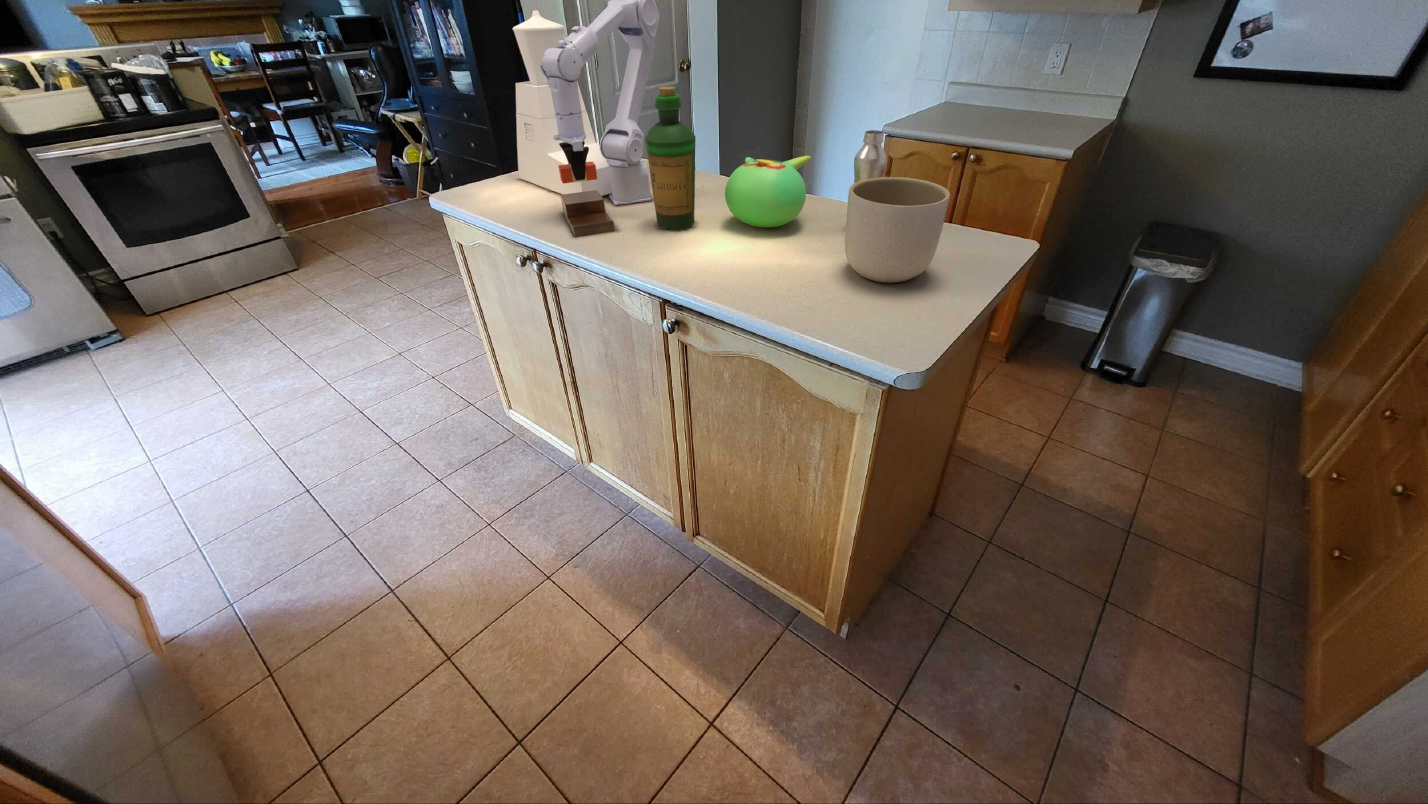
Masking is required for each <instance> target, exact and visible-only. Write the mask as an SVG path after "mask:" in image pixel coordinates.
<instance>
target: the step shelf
mask: <svg viewBox="0 0 1428 804" xmlns="http://www.w3.org/2000/svg"><path fill="white" fill-rule="evenodd" d="M559 197H560V201H561V206H562V212H563V215H564V217H565V219H566V221H567V223H568V225H569V228H570V229H571V231H572V234H573V235H574V237H582V236H588V235H595V234H601V233H609V232H615V224H614V223H615V222H614V220H611V218H610V217H609V215H608V214H607V212H606V206H605V199H604V198H603V196H601V195H600V193H599V192H598V191H597V190H594V191H586V192H578V193H570V194H560V196H559Z"/></svg>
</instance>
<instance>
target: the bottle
mask: <svg viewBox="0 0 1428 804" xmlns="http://www.w3.org/2000/svg"><path fill="white" fill-rule="evenodd" d="M658 90H659V93H658V94H656V95H655V101H654V102H655V103H654V109H655V110H657V113H658V120H659V121H658V122H657V123H655V124H654V125H653V126H652V127H650V129H648V131H647V133H646V135H645V136H644V140H645V141H644V142H645V147H646V155H647V161H648V168H649V169H648V170H649V175H650V176H649V178H650V183H651V190H652V196H653V197H652V198H653V204H654V212H655V218H656V224H657V226H658V227H659V228H661V229H665V230H667V231H680V230H681V231H682V230H685V229H687V228H690V227H693V225H694V223H695V212H696V211H695V208H696V207H695V206H696V204H695V202H696V200H695V199H696V135H695V134H694V132H693V130H692V128H690V127H689V126H688V125H686V124H685V123H684V122H682V121H681V120H680V109H681V108H682V107H683V106H682V102H681V97H680V94H678V93H676V87H675V86H661V87H659V88H658Z"/></svg>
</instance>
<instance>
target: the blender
mask: <svg viewBox="0 0 1428 804" xmlns="http://www.w3.org/2000/svg"><path fill="white" fill-rule="evenodd" d="M531 13H532V14H531V17H530V18H528V19H527V20H525V21H523V22H521V23H518V24H517V25H515V26H513V27H512V31H513V33H514V36H515V39H516V43H517V45H518V48H519V52H520V54H521V57H522V60H523V64H524V67H525V69H526V74H527V75H528V79H529V80H527V81H521V82H515V111H516V112H515V119H516V149H517V171H518V173H517V174H518V178H519V179H521V180H524V181H525V182H528V183H532V184H534V185H537V186H539V187H542V188H544V189H547V190H550V191H553V192H555V193H558V194H560V195H563V194H570V193H578V192H586V191H594V190H597V191H598V192H599V193H600V195H601V196H602V197H603V196H606V195H611V194H612V186H611V178H610V171H609V164H608V163H606V159H605V158H604V157H603V156H602V154H601V152H600V143H597V142H596V138H595V135H594V131H593V128H592V124H591V121H590V118H589V115H588V112H587V111H588V110H587V109H586V106H585V102H584V98H583V95H582V92H581V88H580V85H579V81H577V85H578V92H579V99H580V105H581V112H582V118H583V125H584V132H585V133H586V138H585V140H584V142H585V144H584V147H588V148H589V152H588V154H587V158H586V162H591V161H593V163H594V164H595V165H596V172H597V179H596V180H588V181H581V182H572V183H564V184H563V183H562V181H561V178H560V173H559V167H558V165H566V164H568V161H567V158H566V156H565V153H564V151H563V150H562V148H561V147H560V145H559V143H563V141H560V140H554V137H553V136H554V135H559V134H558V128H557V122H556V117H555V111H554V105H553V100H552V94H551V88H550V86H548V81H547V78H546V77H545V76H544V74H543V73H542V71H541V68H540V65H541V64H542V56H543V54H544V52H545V51H546V50H547V49H549V48H556V47H557V45H558V42H559V41H560V40H564V39H565V38H566V36H565V34H564V33H565V32H564V31H565V29H564V28H565V26H564V25H563V24H560V23H559V22H555V21H552V20H549V19H546V18H545V17H542V16H541V14H540V12H539V10H536V9H535V10H532V12H531Z"/></svg>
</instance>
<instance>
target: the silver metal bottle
mask: <svg viewBox="0 0 1428 804" xmlns="http://www.w3.org/2000/svg"><path fill="white" fill-rule="evenodd" d="M884 134H885V132H884V131H882V130H877V129H874V130H873V129H870V130H865V132H864V136H863V140H862V141H863V145H862V147H860V148H859V150H857V153H856V154H855V157H854V159H853V174H854V176H853V177H854V179H853V184H854V183H856V182H859V181H862V180H866V179H871V178H880V177H884V173H885V169H886V166H887V161H888V159H887V154H886V152H885V149H884V148H883V146H882V143H884V136H885V135H884Z"/></svg>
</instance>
